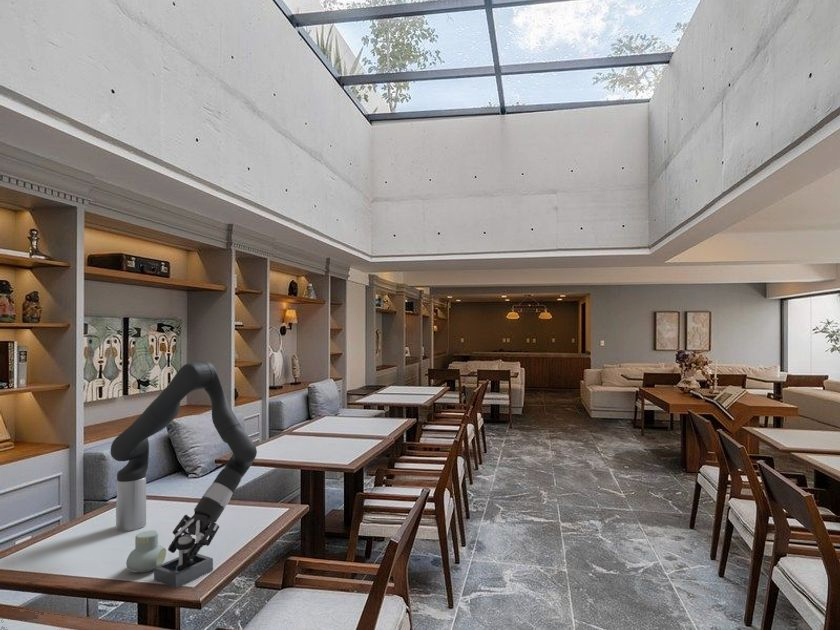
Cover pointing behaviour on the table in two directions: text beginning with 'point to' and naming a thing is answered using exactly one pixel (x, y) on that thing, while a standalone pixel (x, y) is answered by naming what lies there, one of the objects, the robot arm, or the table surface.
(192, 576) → the square socket
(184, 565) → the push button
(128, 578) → the table surface
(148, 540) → the air freshener
